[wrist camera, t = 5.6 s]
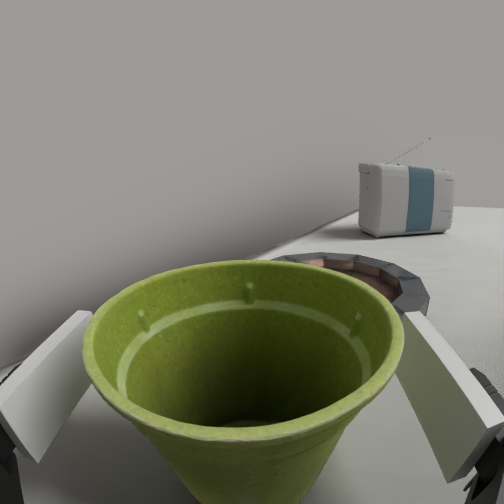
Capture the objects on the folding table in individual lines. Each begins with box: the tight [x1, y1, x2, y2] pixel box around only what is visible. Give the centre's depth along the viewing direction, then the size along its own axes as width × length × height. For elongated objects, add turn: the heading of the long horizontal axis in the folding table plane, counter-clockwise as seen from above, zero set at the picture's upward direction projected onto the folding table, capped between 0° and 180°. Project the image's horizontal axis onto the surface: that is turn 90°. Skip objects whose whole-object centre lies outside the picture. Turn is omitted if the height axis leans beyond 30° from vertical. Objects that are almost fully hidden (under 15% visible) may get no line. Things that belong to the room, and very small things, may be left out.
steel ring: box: [271, 252, 430, 322], centre depth 29 cm, size 18×18×2 cm
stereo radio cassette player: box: [358, 138, 455, 238], centre depth 52 cm, size 21×8×20 cm, turn 102°
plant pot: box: [82, 260, 404, 504], centre depth 10 cm, size 9×9×9 cm
